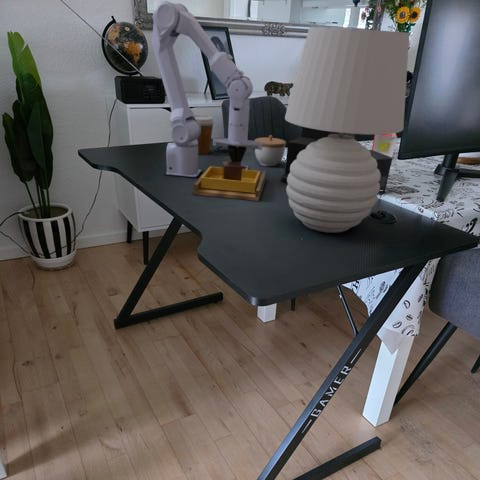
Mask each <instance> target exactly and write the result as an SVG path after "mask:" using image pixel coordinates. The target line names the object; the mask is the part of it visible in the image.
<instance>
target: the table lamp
mask: <svg viewBox="0 0 480 480" xmlns="http://www.w3.org/2000/svg"><path fill="white" fill-rule="evenodd" d="M409 41H410V32H403V31H394V30H393V31H392V30H378V29H364V28H363V29H361V28H347V27H346V28H345V27H330V26H329V27H327V26H309V27H308V31H307V35H306V38H305V41H304V45H303V49H302V52H301V57H300V61H299V64H298V67H297V71H296V75H295V78H294V82H293V86H292V89H291V94H290V97H289V100H288V105H287V108H286V112H285V115H284V120H285V121H286V122H288V123H289V124H293V125H295V126H299V127H301V128H302V127H307V128H311V129H317V130H323V131H330V132H339V134H330V135H328V137H325V138H321V139H319V140H318V141H316V142H312V143H310V144H309V145H308V146H307V147H306V149H304V150H302V151H300V152H299V154H298V155H297V159H296V160H294V161H293V162H292V164H291V166H290V173H289V174H288V177H287V182H286V183H287V185H286V190H285V191H286V195H287V197H288V205H289V207H290V208H291V209H292V210H293V211H292V212H293V214H294V216H295V217H296V218H297V219H298V220H299V221H300V222H301V223H302V224H303V225H304V226H305V227H307V228H309V229H311V230H314V231H317V232H320V233H329V234H330V233H333V234H336V233H337V234H338V233H343V232H346V231H348V230H350V229H352V228H354V227H356V226H358V225H360V224H361V223H362V222H363V219H365V218H367V217H368V216H369V215H370V213H371V212H372V208H373V207H374V206H375V205H376V203H377V201H378V195H379V194H378V193H379V190H380V184H379V181H380V177H381V174H380V171H379V169H377V161H376V159H374V158H373V157H372V156H371V153H370V151H369V150H370V149H368V148H367V147H366V146H363V144H362V143H361V142H359V141H358V140H355V139H354V137H353V136H351V135H353V134H354V135H375V134H392V133H396V134H398V133H401V132H402V131H404V128H405V127H404V125H405V110H406V109H405V108H406V92H407V76H408V59H409V44H410V43H409ZM343 133H345V135H343ZM348 134H351V135H348Z"/></svg>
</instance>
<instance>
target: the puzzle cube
mask: <svg viewBox="0 0 480 480" xmlns="http://www.w3.org/2000/svg"><path fill="white" fill-rule="evenodd" d="M397 139H398V136H397V133H392V134H374V136H373V140H372V141H373V142H372V146H371V150H373V151H376V152H379V153H381V154H384V155H387V156H389V157H392V158H393V156H394V153H395V147H396V143H397Z"/></svg>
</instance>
